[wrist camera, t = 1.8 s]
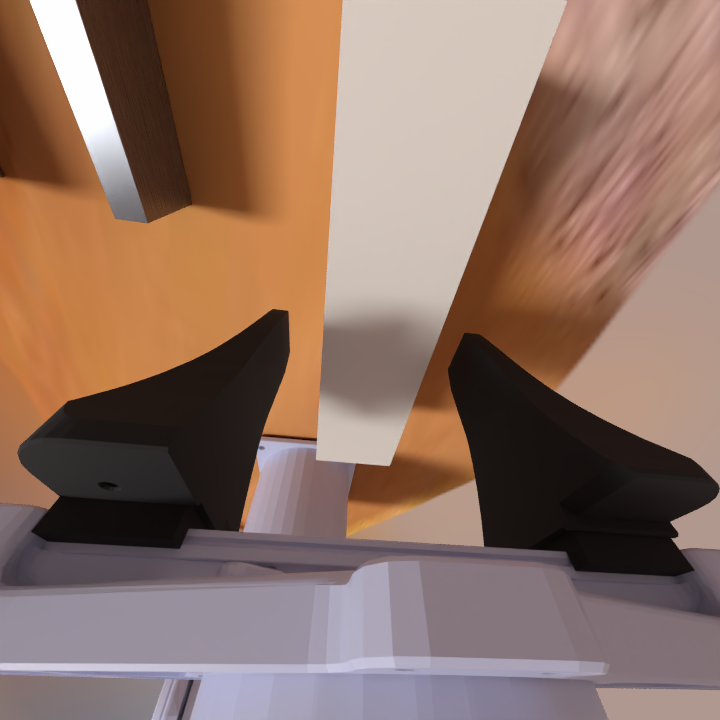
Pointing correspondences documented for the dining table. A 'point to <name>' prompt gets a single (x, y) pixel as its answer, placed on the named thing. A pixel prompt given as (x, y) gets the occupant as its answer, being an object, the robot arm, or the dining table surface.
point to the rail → (412, 192)
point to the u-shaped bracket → (118, 101)
